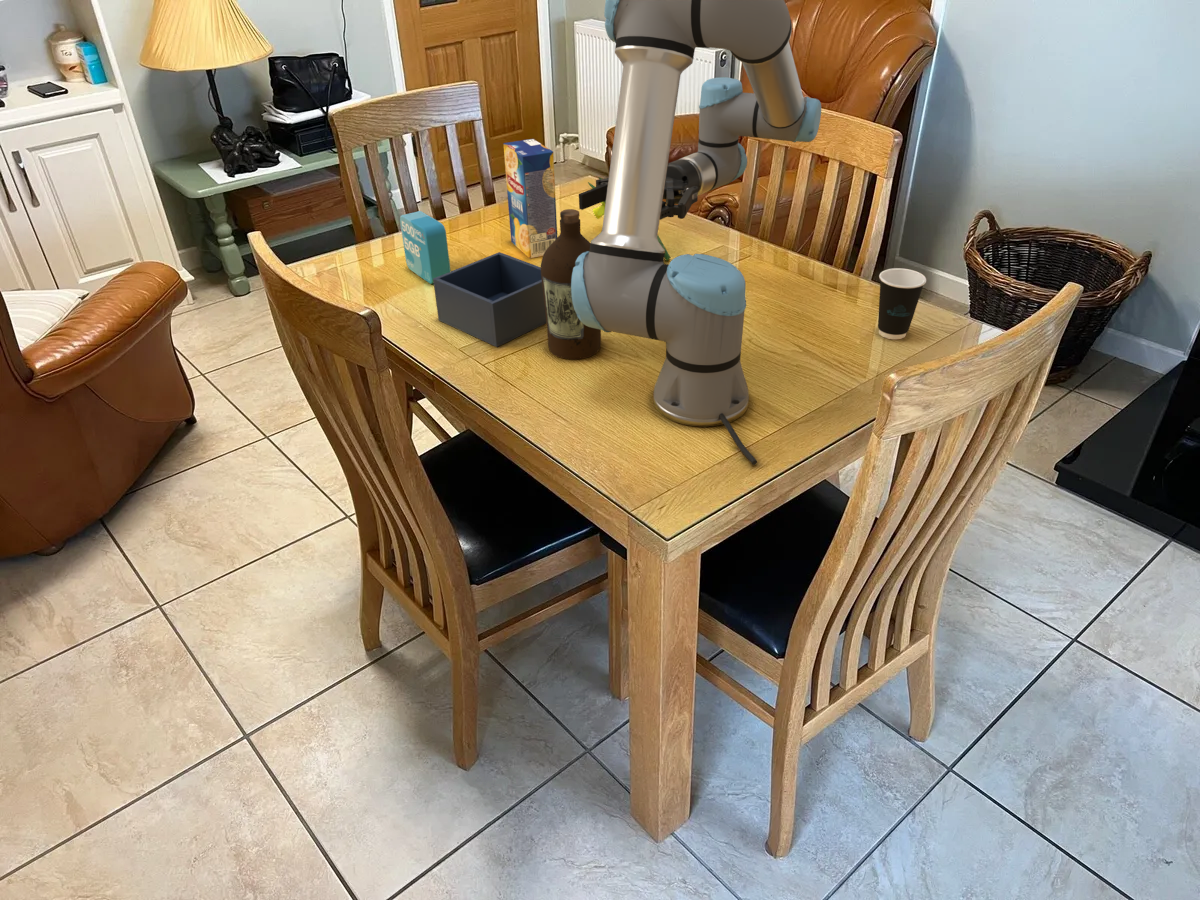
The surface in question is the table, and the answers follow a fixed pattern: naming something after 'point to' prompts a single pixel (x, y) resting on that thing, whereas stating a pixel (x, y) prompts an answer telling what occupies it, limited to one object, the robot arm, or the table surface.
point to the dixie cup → (898, 301)
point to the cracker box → (531, 196)
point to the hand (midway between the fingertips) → (609, 210)
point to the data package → (425, 245)
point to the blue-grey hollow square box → (492, 298)
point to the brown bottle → (566, 293)
